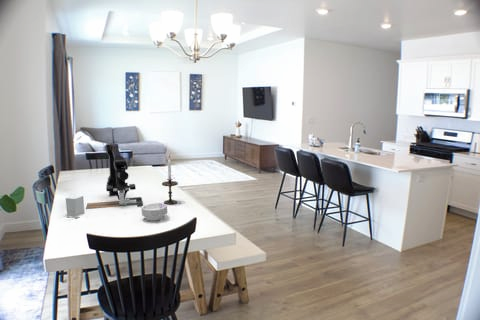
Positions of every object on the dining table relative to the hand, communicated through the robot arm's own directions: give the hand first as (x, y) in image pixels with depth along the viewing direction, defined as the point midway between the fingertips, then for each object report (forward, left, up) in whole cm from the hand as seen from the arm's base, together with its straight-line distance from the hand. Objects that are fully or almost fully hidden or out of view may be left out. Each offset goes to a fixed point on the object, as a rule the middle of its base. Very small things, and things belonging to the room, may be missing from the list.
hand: (121, 199), depth 248 cm
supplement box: (+16, -27, -4) cm, 32 cm away
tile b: (+3, +3, -3) cm, 5 cm away
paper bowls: (+35, +19, -4) cm, 40 cm away
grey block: (0, 0, -2) cm, 2 cm away
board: (0, -10, -4) cm, 11 cm away
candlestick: (+4, +33, -4) cm, 33 cm away
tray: (0, +8, -4) cm, 9 cm away
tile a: (-2, +3, -3) cm, 5 cm away
